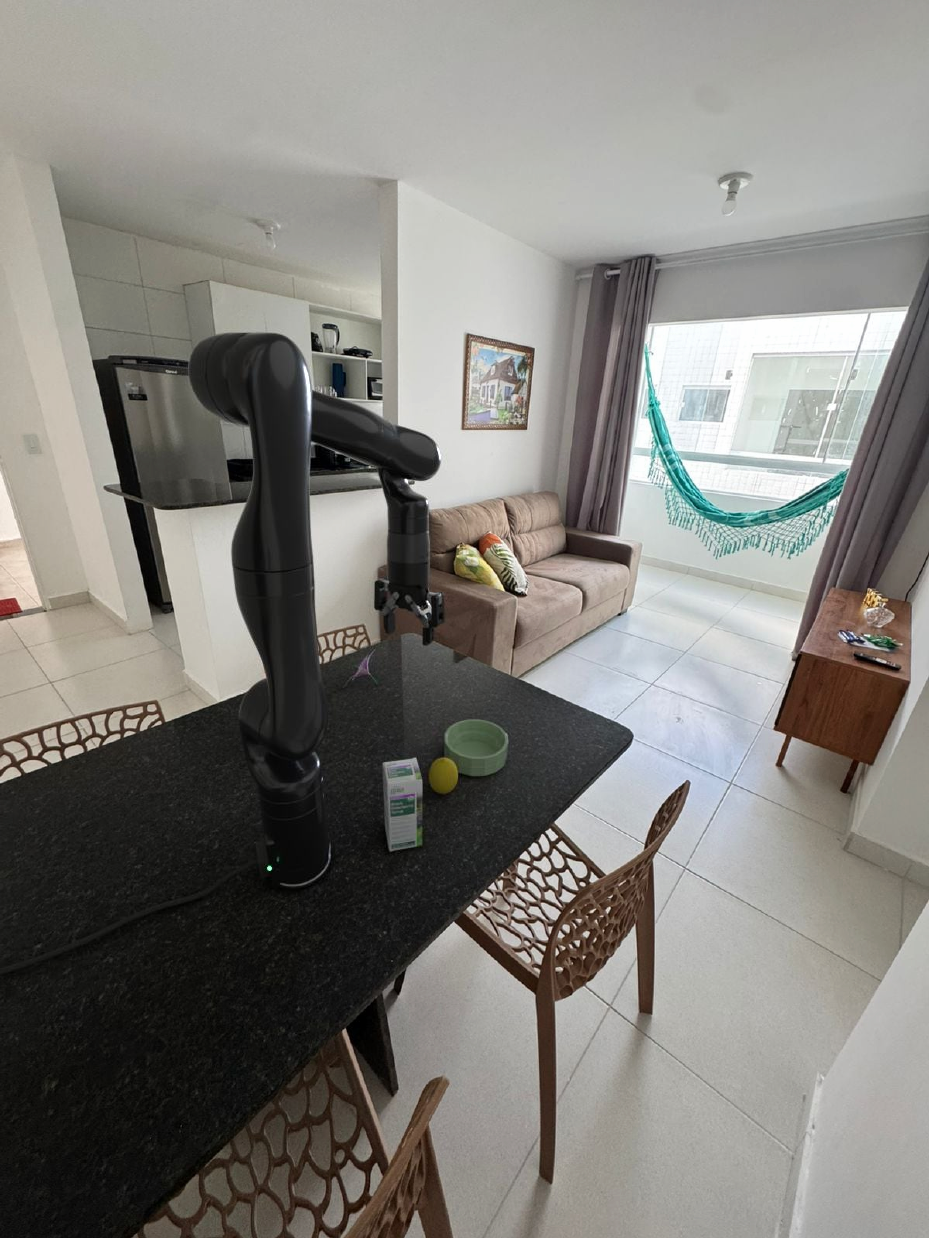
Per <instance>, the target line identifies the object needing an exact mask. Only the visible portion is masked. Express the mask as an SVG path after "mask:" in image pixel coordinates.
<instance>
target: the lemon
mask: <svg viewBox="0 0 929 1238" xmlns="http://www.w3.org/2000/svg"><path fill="white" fill-rule="evenodd" d="M430 765H431V766H430V768H429V770H428V782H429V785H430V787H431V789H432V790H433V791H434V792H435V793H438V794H441V795H443V794H444V795H445V794H449V793H451V792H452V791H453V790H454V789H455V788H456V787H457V784H458V780H459V779H458V778H459V772H458V771H457V767H456V765H455V763H454V762H453V761H452V760H450V759H448V758H444V757H439V758H437V759H435V760H434V761H433V762H432V763H431V764H430Z"/></svg>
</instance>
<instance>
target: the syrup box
mask: <svg viewBox="0 0 929 1238" xmlns="http://www.w3.org/2000/svg"><path fill="white" fill-rule="evenodd" d="M382 785H383V787H382V789H383V808H384V809H383V811H384V828H385V829H384V830H385V835H386V841H387V848H388V851H389V852H390V853H391V852H394V851H399V850H404V849H405V850H406V849H410V848H411V849H412V848H416V847H422V846H423V778H422V773H421V771H420V766H419V763H418V760H417V757H412V758H408V759H397V760H392V761H385V762H382Z"/></svg>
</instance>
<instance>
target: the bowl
mask: <svg viewBox="0 0 929 1238" xmlns="http://www.w3.org/2000/svg"><path fill="white" fill-rule="evenodd" d="M508 748H509V738H508V734H507V733H506V732H505V730H504V729H503V728H502V727H501V726H500V725H498V724H496V723H494V722H492V721H488V720H484V719H479V718H478V719H477V718H476V719H474V718H473V719H469V718H468V719H463V720H461V721H457V722H454V724H452V725H450V726H448V728H447V729H446V731H445V732H444V736H443V758H448V759H450V760H452V761H453V762H454V763H455V765H456V767H457V771H458V774H461V775H466V776H469V777H487V776H489V775H492V774H495V773H497V772H499V770H501V769H502V768H503V767H504V766H505V765H506V761H507V760H508V750H509V749H508Z"/></svg>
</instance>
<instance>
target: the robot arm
mask: <svg viewBox="0 0 929 1238" xmlns="http://www.w3.org/2000/svg"><path fill="white" fill-rule="evenodd" d="M187 365H188V366H187V373H188V379H189V384H190V386H191V390H192V392H193V394H194V396H195V397H196V399H197V401H198V402H199V404H200V405H201V406H202V407H203V408H204V409H205V411H207V412H208V413H209V414H211V415H212V416H213V417H215V418H216V419H218V420H220V421H222V422H224V423H227V424H229V425H232V426H237V427H241V428H243V427H245V428H249V433H250V434H249V435H250V440H251V451H252V481H251V487H250V491H249V494H248V497H247V500H246V502H245V504H244V507H243V510H242V512H241V514H240V517H239V519H238V521H237V524H236V527H235V530H234V532H233V536H232V540H231V547H230V548H231V549H230V552H231V553H230V557H231V559H230V560H231V567H232V575H233V584H234V585H233V586H234V592H235V596H236V597H235V598H236V602H237V605H238V608H239V612H240V614H241V617H242V620H243V621H244V624H245V627H246V629H247V631H248V633H249V635H250V638H251V640H252V642H253V645H254V646H255V648H256V651H257V653H258V655H259V657H260V660H261V662H262V665H263V668H264V672H265V675H266V676H265V677H264V678H262V679H260V680H259V681H256V683H254V684H253V685H251V686H250V688H249V689H248V690H247V691H246V693H245V694H244V696H243V698H242V700H241V703H240V706H239V709H238V710H239V711H238V725H239V731H240V738H241V742H242V747H243V751H244V752H243V753H244V755H245V760H246V764H247V768H248V770H249V773H250V775H251V776H252V778H253V780H254V782H255V785H256V790H257V796H258V803H259V809H260V815H261V823H262V830H263V838H264V839H263V840H261V841H257V842H255V850H256V858H254V859H253V860H251V861H250V860H249V862H247V863H244V864H243V865H240V866H239V867H237V868H235V869H233V870H231V871H229V872H228V873H226V874H225V875H223V876H222V877H221V878H219V879H218V880H217V881H216V882H215V883H213V885H211V886H209V887H207V888H206V889H203V890H201V891H199V892H196V893H193V894H191V895H187V896H184V897H180V898H176V899H173V900H169V901H165V902H162V903H158V904H156V905H152V906H149V907H148V908H147V907H146V908H145V909H142V910H140V911H137V912H135V913H133V914H130V915H128V916H125V918H122V919H120V920H117V921H116V922H114V923H112V924H110V925H108V926H106V927H104V928H102V929H100V930H98V931H96V932H93V933H92V934H89V935H87V936H85V937H83V938H81V939H78V940H76V941H73V942H71V943H69V944H66V945H63V946H61V947H58V948H56V949H54V950H51V951H48V952H46V953H43V954H40V955H38V956H35V957H32V958H29V959H26V960H23V961H20V962H17V963H13V964H10V965H6V966H3V967H0V976H2V975H5V974H8V973H12V972H15V971H18V970H21V969H24V968H27V967H30V966H33V965H36V964H38V963H41V962H44V961H47V960H49V959H52V958H55V957H57V956H59V955H63V954H64V953H67V952H69V951H73V950H75V949H76V948H79V947H81V946H84V945H86V944H88V943H90V942H92V941H94V940H97V939H99V938H101V937H103V936H105V935H107V934H109V933H111V932H113V931H115V930H117V929H119V928H121V927H123V926H124V925H127V924H129V923H131V922H133V921H135V920H137V919H140V918H142V917H145V916H147V915H149V914H152V913H155V912H159V911H161V910H164V909H168V908H172V907H175V906H179V905H183V904H186V903H190V902H192V901H195V900H199V899H200V898H203V897H205V896H207V895H210V894H211V893H213V892H215V891H216V890H217V889H219V888H220V887H221V886H222V885H223V884H225V883H226V882H227V881H229V880H230V879H232V878H233V877H235V876H236V875H238V874H240V873H242V872H245V871H246V870H248V869H250V868H252V867H255V866H256V865H258V866H257V867H258V870H259V876H260V877H259V878H260V879H264V878H266V877H270V881H271V887H272V890H277V889H283V890H289V891H297V890H302V889H305V888H308V887H310V886H313V885H314V884H316V883H317V882H319V881H320V880H321V879H322V878H323V877H324V876H325V875H326V874H327V872H328V871H329V868H330V865H331V862H332V861H331V848H332V847H331V845H330V842H329V833H328V832H329V831H328V821H327V820H328V818H327V809H326V798H325V786H324V785H325V784H324V775H323V766H322V760H321V758H320V756H319V755H318V752H317V751H316V750H317V749H318V748H319V747H320V745H321V744H322V742H323V740H324V738H325V736H326V735H325V734H326V732H327V728H328V723H329V713H328V703H327V697H326V692H325V685H324V681H323V675H322V669H321V663H320V655H319V654H320V653H319V640H318V627H317V626H318V625H317V613H316V581H315V566H314V565H315V564H314V552H313V542H312V525H311V523H312V522H311V487H310V484H311V483H310V479H311V478H310V477H311V474H310V473H311V451H312V450H311V449H312V443H313V444H316V445H318V446H321V447H323V448H325V449H328V450H330V451H333V452H335V453H338V454H340V455H343V456H345V457H347V458H350V459H352V460H354V461H357V462H360V463H362V464H365V465H368V466H369V467H375V468H376V471H377V475H378V478H379V482H380V485H381V489H382V493H383V496H384V499H385V504H386V509H387V511H386V512H387V514H386V515H387V517H386V518H387V519H386V521H387V533H386V534H387V536H386V577H385V576H384V577H382V578H379V579H377V580H375V581H374V588H373V589H374V592H373V595H374V596H373V608H374V610H375V611H380V612H381V614H382V617H383V629H384V631H385V634H388V635H391V634H393V633H394V632H396V613H395V611H396V609H397V608H398V609H401V610H407V611H408V612H411V613H414V615H415V617H416V619H417V618H418V619H419V620H420V622H421V624H422V645H423V646H425V647H427V646H429V645H431V644H432V643H433V642H434V640H435V630H436V629H435V628H438V627H439V626H441V625H443V624H444V623H445V621H446V616H445V615H446V613H445V610H446V609H445V593H444V592H443V591H438V592H432V591H430V588H429V582H430V579H431V578H430V572H431V571H430V570H431V541H430V539H431V538H430V528H429V526H430V503H429V500H428V498H427V497H426V496H424V495H422V494H421V493H418V492H416V491H415V490H414V489H412V487H411V485H410V483H409V481H416V482H426V481H428V480H430V479H432V478H434V477H435V476H436V474H437V473H438V472H439V471H440V468H441V464H442V455H441V450H440V448H439V445H438V444H437V443H436V441H435V440H434V439H433V438H431V436H429V435H428V434H426V433H423V432H421V431H418V430H414V429H412V428H409V427H407V426H402V425H398V424H396V423H393V422H391V421H389V420H388V419H386V418H385V417H383V416H382V415H379V414H378V413H376V412H374V411H372V410H370V409H369V408H366V407H364V406H362V405H360V404H358V403H354V402H352V401H349V400H346V399H343V398H339V397H335V396H333V395H330V394H328V393H327V394H326V393H323V392H320V391H318V390H315V389H313V385H312V378H311V373H310V369H309V366H308V363H307V360H306V357H305V356H304V354H303V352H302V350H301V348H300V347H299V346H298V344H297V343H295V342H294V341H293V340H292V339H290V338H289V336H286V335H284V334H281V333H277V332H260V331H259V332H258V331H256V332H234V331H232V332H220V333H215V334H213V335H209V336H207V337H205V338H204V339H202V340H200V341H198V343H197V344H196V346H195V347H194V348H193V349H192V351H191V354H190V356H189V360H188V364H187ZM388 592H389V595H390V596H391V597H390V598H389V599H388ZM421 608H423V610H422V609H421Z"/></svg>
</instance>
